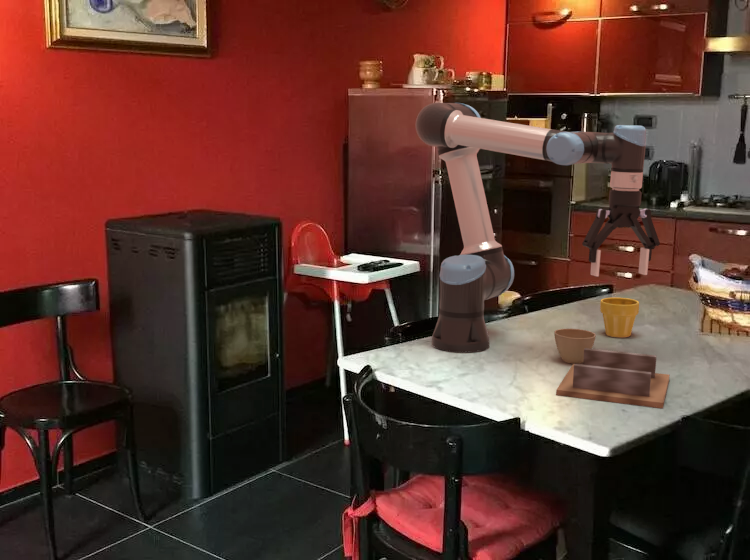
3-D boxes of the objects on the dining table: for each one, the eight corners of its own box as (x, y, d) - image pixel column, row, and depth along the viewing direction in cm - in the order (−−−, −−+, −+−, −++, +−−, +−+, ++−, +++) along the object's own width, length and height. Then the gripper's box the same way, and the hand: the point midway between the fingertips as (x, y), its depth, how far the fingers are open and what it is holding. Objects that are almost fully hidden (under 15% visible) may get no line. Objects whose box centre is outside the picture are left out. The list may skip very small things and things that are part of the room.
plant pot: (596, 337, 236) (598, 302, 235) (601, 329, 246) (603, 295, 244) (635, 341, 233) (637, 305, 231) (638, 332, 242) (641, 298, 240)
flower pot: (571, 368, 206) (572, 339, 205) (544, 358, 215) (545, 330, 213) (602, 363, 210) (604, 335, 209) (575, 353, 219) (577, 326, 218)
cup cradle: (556, 395, 186) (557, 367, 185) (572, 368, 206) (574, 343, 205) (662, 408, 178) (664, 379, 177) (669, 379, 198) (671, 353, 197)
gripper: (588, 190, 202) (581, 279, 206) (679, 190, 209) (671, 276, 213) (572, 187, 209) (566, 273, 213) (661, 187, 216) (653, 270, 220)
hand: (618, 274), depth 213 cm, fingers open, 13 cm apart
